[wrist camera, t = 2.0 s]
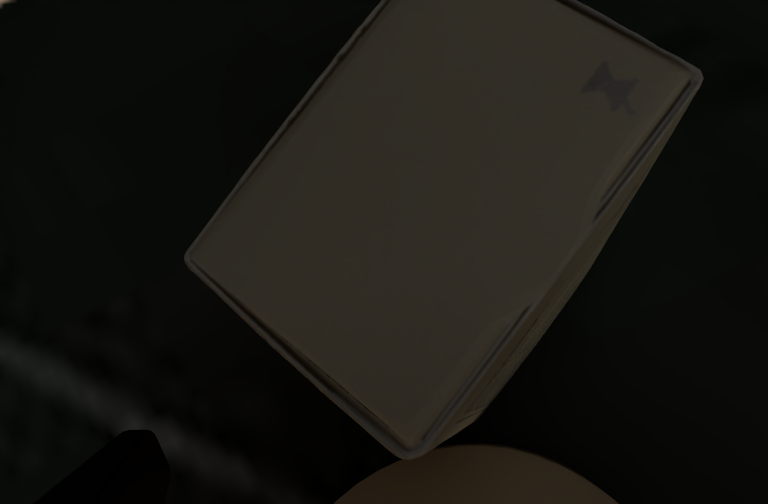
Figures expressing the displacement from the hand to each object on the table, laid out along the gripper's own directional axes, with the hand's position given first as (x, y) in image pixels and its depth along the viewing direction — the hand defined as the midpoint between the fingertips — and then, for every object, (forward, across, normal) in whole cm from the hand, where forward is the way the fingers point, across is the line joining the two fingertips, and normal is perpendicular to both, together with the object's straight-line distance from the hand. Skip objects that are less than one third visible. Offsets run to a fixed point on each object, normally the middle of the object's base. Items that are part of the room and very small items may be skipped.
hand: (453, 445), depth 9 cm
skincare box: (+10, 0, +5) cm, 11 cm away
